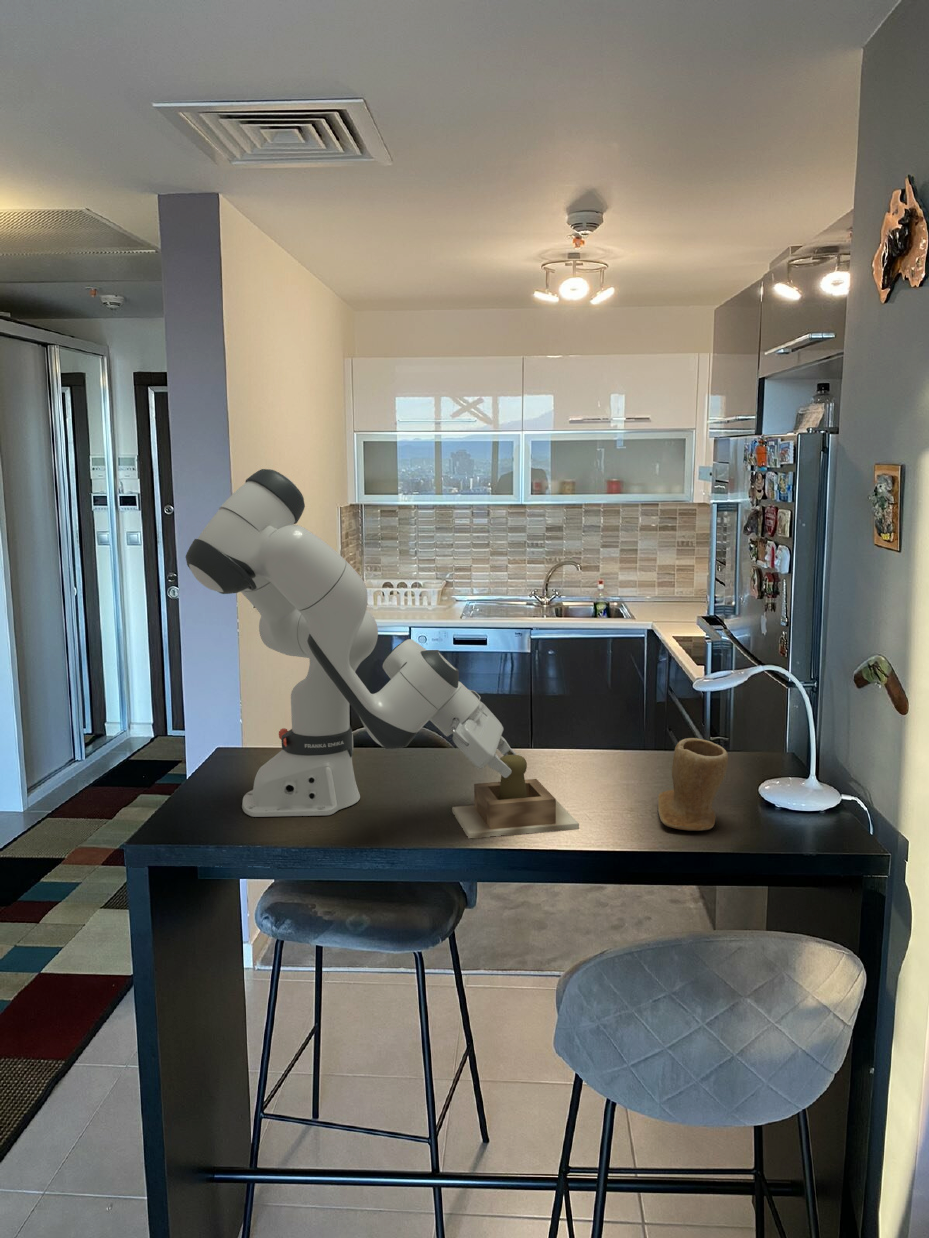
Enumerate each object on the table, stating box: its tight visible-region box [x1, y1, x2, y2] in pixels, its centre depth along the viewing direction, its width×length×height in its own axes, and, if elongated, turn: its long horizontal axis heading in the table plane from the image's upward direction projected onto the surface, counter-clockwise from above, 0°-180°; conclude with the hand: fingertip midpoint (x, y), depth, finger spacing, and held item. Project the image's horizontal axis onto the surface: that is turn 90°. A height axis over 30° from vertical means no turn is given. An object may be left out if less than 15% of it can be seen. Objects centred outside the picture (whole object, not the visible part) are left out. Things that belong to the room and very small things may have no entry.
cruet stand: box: [451, 778, 580, 839], centre depth 175 cm, size 20×14×6 cm
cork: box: [498, 754, 528, 800], centre depth 174 cm, size 6×6×11 cm
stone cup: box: [657, 737, 729, 831], centre depth 173 cm, size 15×12×15 cm
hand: (511, 766), depth 174 cm, fingers open, 8 cm apart
